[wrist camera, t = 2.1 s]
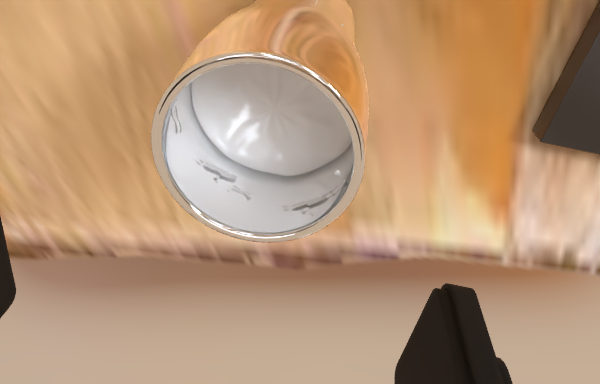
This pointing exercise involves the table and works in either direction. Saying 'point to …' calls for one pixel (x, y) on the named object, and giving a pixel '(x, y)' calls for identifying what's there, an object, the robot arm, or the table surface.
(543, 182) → the table surface
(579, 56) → the serving board
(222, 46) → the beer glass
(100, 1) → the table surface
